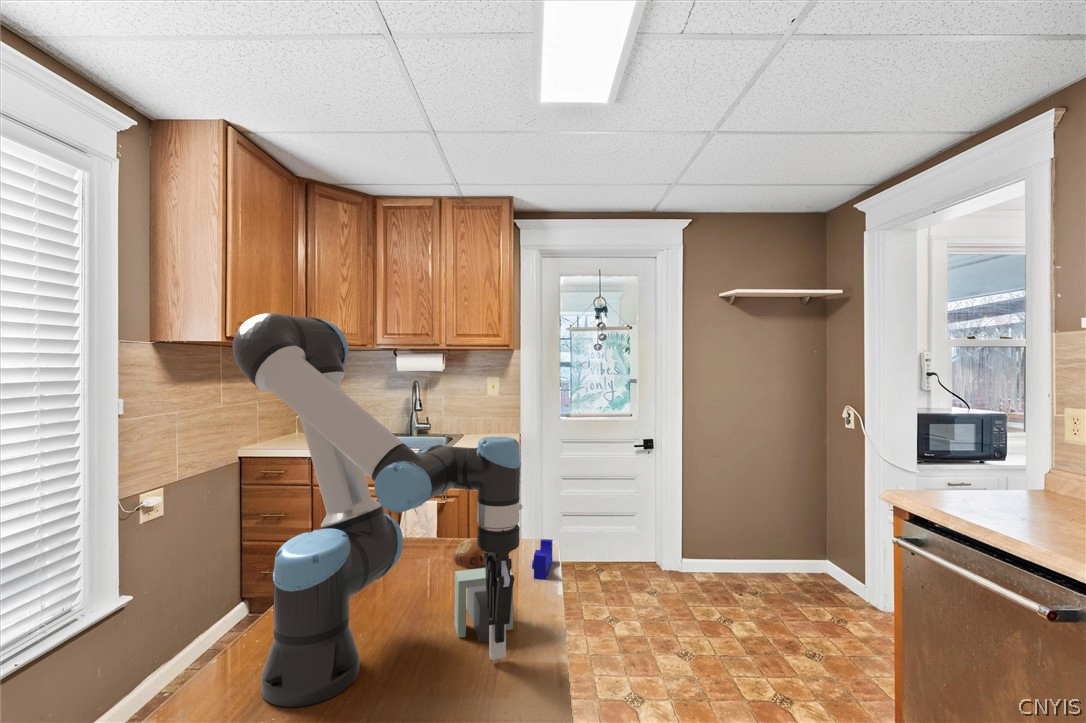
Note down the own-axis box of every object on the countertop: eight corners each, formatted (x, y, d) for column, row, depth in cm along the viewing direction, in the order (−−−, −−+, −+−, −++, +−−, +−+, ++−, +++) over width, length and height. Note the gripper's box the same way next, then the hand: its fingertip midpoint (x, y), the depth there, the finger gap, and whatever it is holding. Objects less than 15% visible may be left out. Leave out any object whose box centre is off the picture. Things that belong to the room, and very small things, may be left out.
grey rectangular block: (479, 642, 99) (479, 605, 99) (465, 604, 114) (465, 573, 114) (499, 639, 100) (500, 603, 100) (483, 602, 115) (483, 571, 115)
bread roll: (481, 567, 144) (474, 538, 147) (502, 561, 138) (494, 530, 140) (451, 576, 138) (444, 546, 140) (471, 570, 131) (464, 538, 133)
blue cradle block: (535, 560, 140) (536, 538, 140) (552, 561, 139) (552, 539, 139) (527, 579, 128) (528, 554, 128) (545, 580, 128) (545, 556, 128)
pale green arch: (458, 637, 100) (458, 581, 100) (454, 625, 105) (454, 571, 105) (513, 629, 104) (513, 574, 104) (507, 617, 108) (507, 565, 108)
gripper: (529, 534, 87) (528, 673, 87) (509, 512, 100) (508, 634, 100) (485, 538, 85) (484, 682, 85) (471, 516, 97) (469, 641, 97)
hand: (497, 656), depth 92 cm, fingers closed
